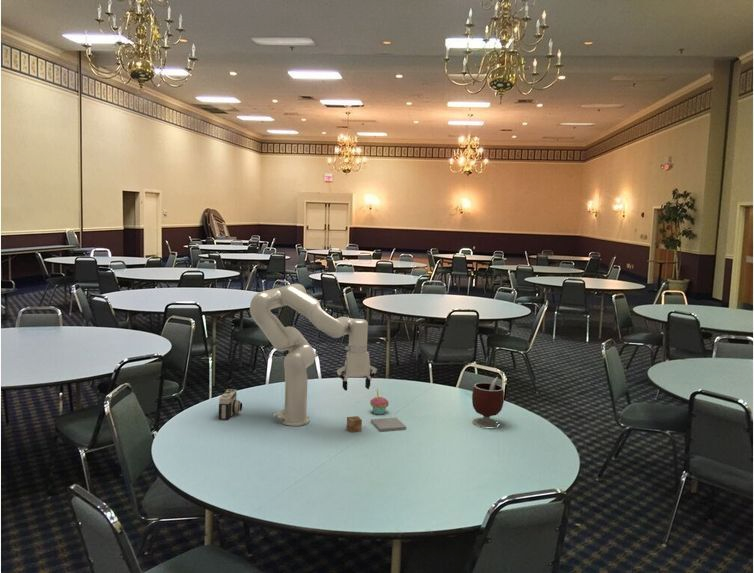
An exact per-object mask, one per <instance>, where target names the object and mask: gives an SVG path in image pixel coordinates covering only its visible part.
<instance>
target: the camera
mask: <svg viewBox="0 0 754 573" xmlns="http://www.w3.org/2000/svg"><path fill="white" fill-rule="evenodd" d="M237 390H238V389H233V388H228V389H226V390H225V391H224V393H222V394H221V396H220V397H219V399H218V402H219V404H218V420H219V421H229V420H230V419H231V417H233V415H234V414H238V413H240V412H241V411H242V410H243V403H242V402H241V401H240V400H238V399H237V392H238V391H237Z"/></svg>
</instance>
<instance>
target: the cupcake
mask: <svg viewBox="0 0 754 573" xmlns="http://www.w3.org/2000/svg"><path fill="white" fill-rule="evenodd" d="M379 395H380V394H379V389H378V387H377V388H376V397H373V398H372V399H370V403H369V404H370V406H371V407H372V411H373V414H376V415H383V414H384V413H385V411H386V409H387V407H389V401H388V400H387V399H386V398H385V397H382V396H379Z"/></svg>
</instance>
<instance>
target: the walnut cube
mask: <svg viewBox="0 0 754 573" xmlns="http://www.w3.org/2000/svg"><path fill="white" fill-rule="evenodd" d="M362 425H363V420H362V418H361V417H360V416H359V415H357V416H347V417H346V430H348V432H349V433H358V432H359V433H360V432H362V428H363V426H362Z"/></svg>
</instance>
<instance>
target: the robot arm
mask: <svg viewBox="0 0 754 573" xmlns="http://www.w3.org/2000/svg"><path fill="white" fill-rule="evenodd" d="M285 306H288V307H290V308H291V309H293V310H294V311H296V312H298V313H299V314H301V315H302V316H304V317H305V318H307V319H308V320H309V321H310V323H312V325H313V326H314V327H315V328H316V329H318V330H319V331H321V332H323V333H324V334H326V335H327V336H329V337H331V338H333V339H338V338H341V337H343V336H345V335H348V345H347V346H345V349H344V350H346V351H347V352H346V356H345V360H344V366H342V367H340V368H337V370H336V372H337V375H338V377H339V378H340V379H341V380H342V386H341V387H342V389H343V390H344V391H347V390H348V381H347V380H348V379H349V378H358V377H359V378H361V377H363V378H364V377H366V378H365V385H364V387H365V388H366V389H367V390H370V387H371V380H372V378H373V377H374V376H376V373H377V371H378V369H377V367H374V366H372V365H371V360H370V358H371V357H370V353H369V351H368V327H369V323H368V321H367V319H362V318H351V317H348V316H339V317H338V318H336V317H333V316H331V315H330V314H328V313H327V312H325V310H323V309H322V308H323V307H321V304H320V301H319V300H318V299H316V298H315V297H314V296H312V295H310V294H308V293H307V290H306V288H305V286H304V285H303V284H300V283H292V284H287V285H285V286H281V287H277V288H276V287H275V288H271V289H268V290H262V291H260V292H257V293H256V294H254V296H253V297H252V298H251V301H250V304H249V314H250V315H251V317H252V319H253V321H254V322H255V324H256V325H257V326H258V328H259V329H260V330H261V331H262V332H263V335H265V337H266V338H267V339H268V341H269V342H270V343H271V345H272V346H273V348H274V349H275V350H277V352H286V351H288V353H287V354H286V355H285V358H284V360H283V368H284V406H283V407H284V408H283V410H282V411H280V412H274V413H272V414H273V415H272V417H273V418H274V419H279V421H280V423H281V424H283V425H285V426H291V427H299V426H305V425H308V424H310V422H311V418H310V416H308V415H307V409H308V407H307V405H308V404H307V403H308V372H307V369H308V367H310V366H311V365H313V364H314V362H315V359H316V353H315V351H314V348H313V347H312V346H311V345H310V343H309V342H308V340H307V339H306V338H305V337H304V335H303V334H302V333H301V331H300V330H299V329H297V328H296V327H294V326H284V325H283V323H282V322H281V320H280V319H279V318H278V317H277V316H276V315H275V314H273V312H272V311H271V310H273V309H277V308H281V307H285ZM371 370H372V371H371ZM342 372H344V374H343V373H342Z"/></svg>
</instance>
